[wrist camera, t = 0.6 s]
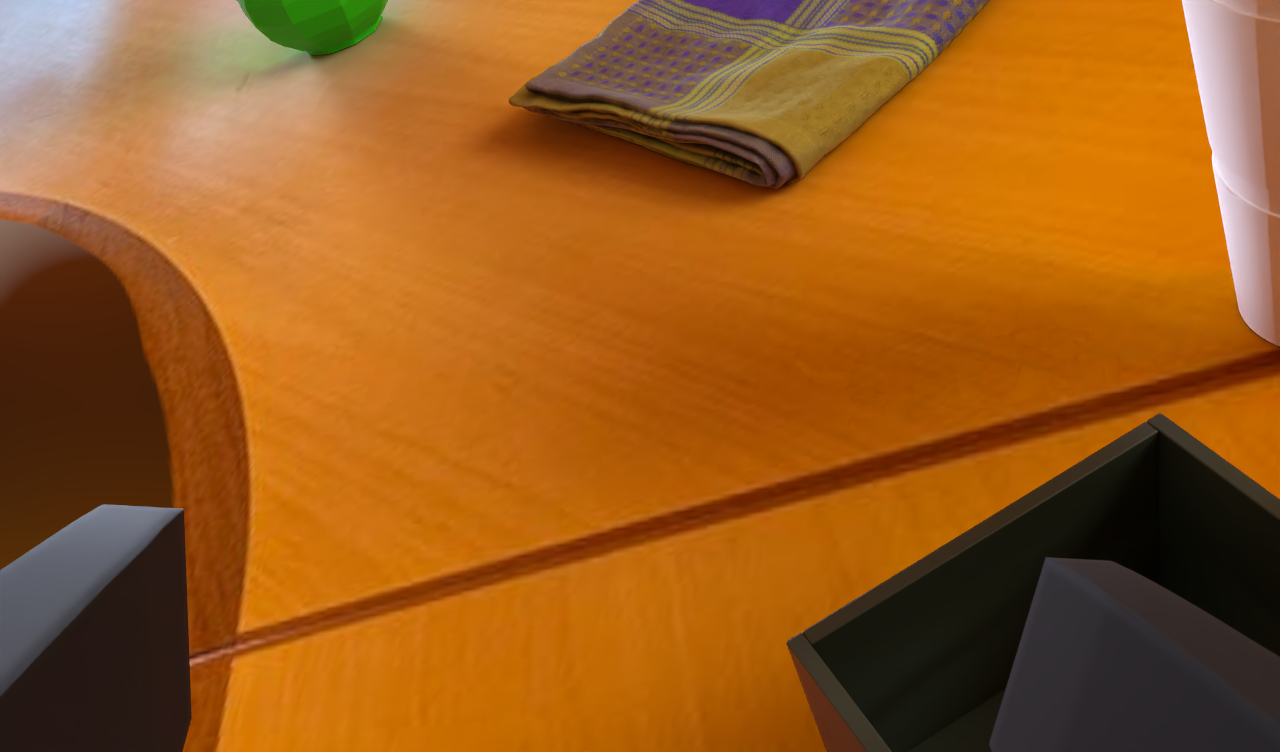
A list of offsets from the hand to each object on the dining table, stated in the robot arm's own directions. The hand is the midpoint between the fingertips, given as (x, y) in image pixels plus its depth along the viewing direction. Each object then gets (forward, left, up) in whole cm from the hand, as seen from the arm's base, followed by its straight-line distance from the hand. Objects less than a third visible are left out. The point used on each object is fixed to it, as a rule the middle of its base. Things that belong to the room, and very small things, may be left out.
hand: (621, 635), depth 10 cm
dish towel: (+41, -23, -19) cm, 51 cm away
